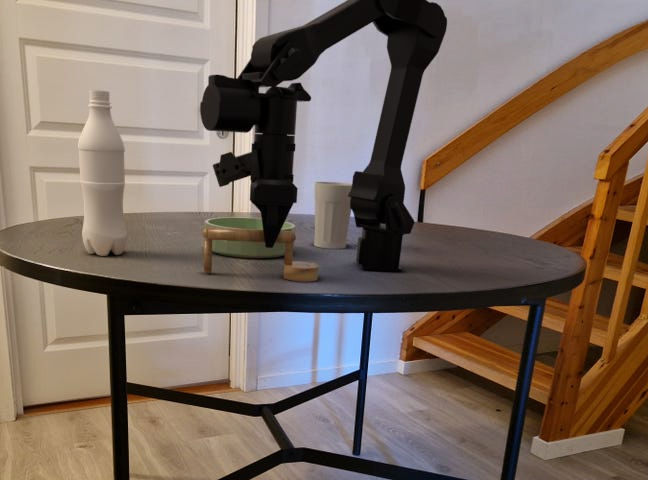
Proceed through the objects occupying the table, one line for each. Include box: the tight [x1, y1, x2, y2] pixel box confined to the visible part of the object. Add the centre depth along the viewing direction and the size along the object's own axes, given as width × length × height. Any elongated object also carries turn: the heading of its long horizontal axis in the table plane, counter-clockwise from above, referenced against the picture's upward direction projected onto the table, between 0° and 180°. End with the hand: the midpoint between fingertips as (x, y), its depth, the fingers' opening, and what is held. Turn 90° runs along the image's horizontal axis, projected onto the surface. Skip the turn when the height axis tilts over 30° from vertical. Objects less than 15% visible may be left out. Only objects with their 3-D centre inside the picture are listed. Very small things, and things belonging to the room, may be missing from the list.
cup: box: [313, 181, 352, 250], centre depth 120 cm, size 8×8×12 cm
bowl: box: [203, 216, 296, 259], centre depth 112 cm, size 16×16×5 cm
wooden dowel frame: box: [201, 227, 320, 283], centre depth 92 cm, size 18×5×7 cm, turn 91°
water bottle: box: [77, 89, 128, 257], centre depth 99 cm, size 7×7×25 cm
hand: (269, 246), depth 91 cm, fingers closed on wooden dowel frame
